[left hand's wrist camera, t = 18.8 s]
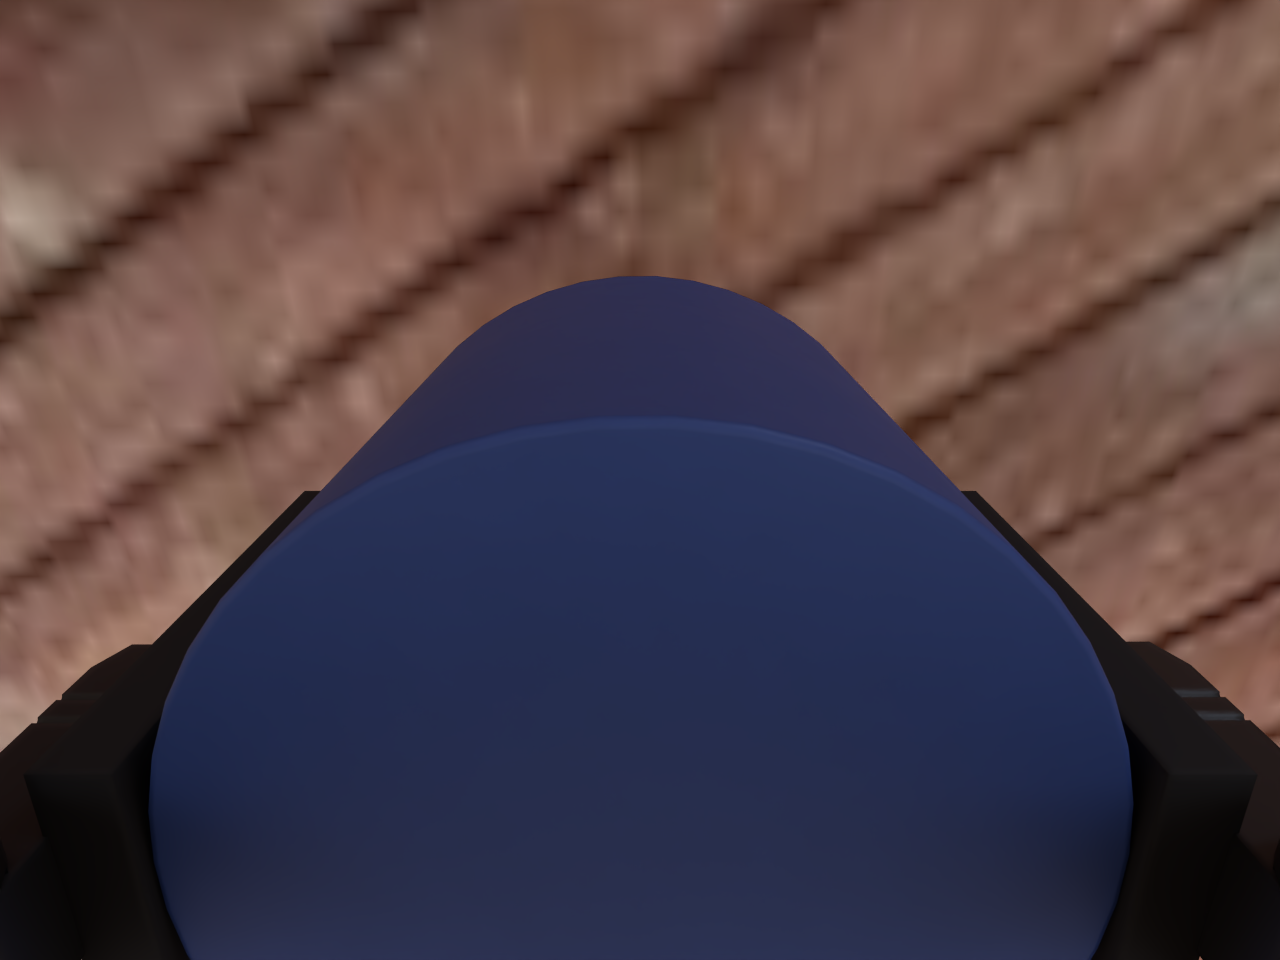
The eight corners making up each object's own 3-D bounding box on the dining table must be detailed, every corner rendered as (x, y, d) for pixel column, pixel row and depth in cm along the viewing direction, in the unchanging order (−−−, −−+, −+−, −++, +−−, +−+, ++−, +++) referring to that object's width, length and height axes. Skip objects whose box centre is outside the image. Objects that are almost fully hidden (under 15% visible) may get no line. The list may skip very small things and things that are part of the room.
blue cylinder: (288, 556, 15) (-31, 923, 8) (608, 150, 13) (568, 147, 6) (663, 814, 17) (681, 1291, 10) (1000, 507, 15) (1342, 844, 8)
